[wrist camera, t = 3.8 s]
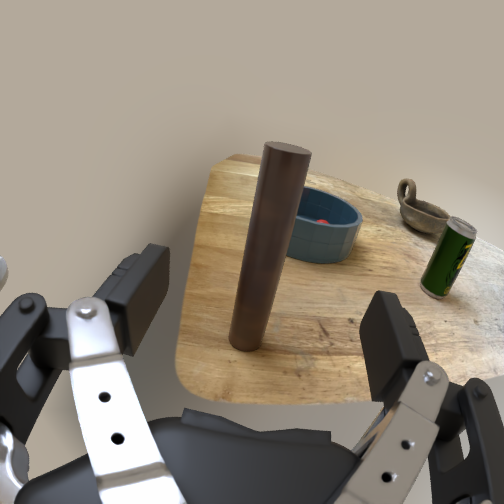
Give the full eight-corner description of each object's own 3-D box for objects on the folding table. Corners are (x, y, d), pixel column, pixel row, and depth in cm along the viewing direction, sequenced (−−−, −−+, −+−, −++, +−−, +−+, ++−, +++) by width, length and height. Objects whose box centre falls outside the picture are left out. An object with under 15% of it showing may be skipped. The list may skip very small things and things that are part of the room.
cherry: (309, 237, 48) (314, 221, 47) (311, 230, 51) (316, 214, 49) (327, 243, 48) (332, 226, 46) (328, 235, 50) (333, 219, 49)
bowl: (423, 244, 58) (439, 202, 53) (375, 208, 71) (387, 172, 66) (452, 243, 63) (467, 207, 58) (408, 211, 76) (419, 179, 71)
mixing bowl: (240, 242, 44) (247, 204, 41) (267, 206, 58) (274, 177, 55) (351, 275, 42) (365, 239, 39) (350, 230, 56) (360, 202, 53)
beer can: (415, 288, 42) (447, 219, 35) (421, 276, 45) (449, 212, 39) (443, 305, 39) (478, 236, 33) (447, 290, 43) (478, 228, 37)
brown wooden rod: (223, 344, 27) (259, 144, 18) (234, 323, 30) (270, 139, 21) (256, 356, 27) (309, 157, 18) (265, 333, 29) (313, 150, 20)
